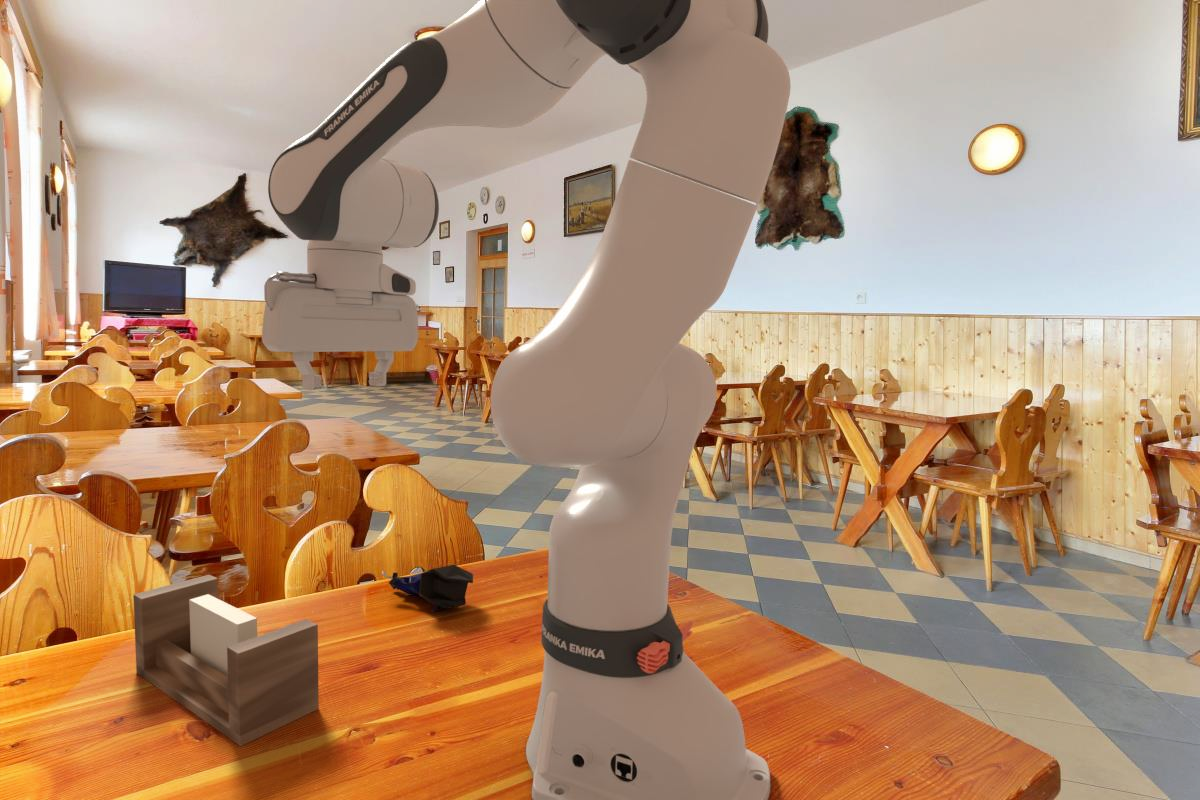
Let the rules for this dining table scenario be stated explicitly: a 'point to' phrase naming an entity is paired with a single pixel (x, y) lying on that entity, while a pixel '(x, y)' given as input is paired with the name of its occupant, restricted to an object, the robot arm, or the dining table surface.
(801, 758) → the dining table surface
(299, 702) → the wooden rack
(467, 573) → the toy
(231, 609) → the door panel
